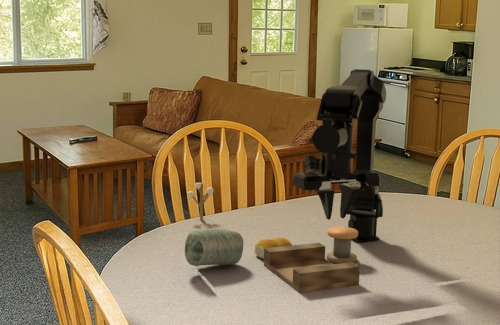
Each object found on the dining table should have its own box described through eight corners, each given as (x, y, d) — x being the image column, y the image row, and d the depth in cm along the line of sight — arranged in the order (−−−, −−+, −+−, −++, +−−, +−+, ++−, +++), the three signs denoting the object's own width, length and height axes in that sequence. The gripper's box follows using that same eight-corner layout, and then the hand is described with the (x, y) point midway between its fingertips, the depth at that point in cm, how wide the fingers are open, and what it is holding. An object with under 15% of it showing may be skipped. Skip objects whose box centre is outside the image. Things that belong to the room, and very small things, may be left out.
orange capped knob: (346, 253, 161) (348, 225, 160) (362, 262, 155) (363, 233, 154) (321, 256, 159) (322, 228, 158) (335, 265, 152) (337, 236, 151)
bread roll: (299, 255, 157) (299, 239, 157) (267, 262, 153) (267, 246, 152) (280, 245, 164) (280, 230, 164) (248, 252, 160) (248, 236, 159)
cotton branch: (185, 222, 187) (185, 180, 185) (205, 219, 191) (205, 177, 189) (198, 228, 181) (198, 184, 179) (218, 225, 185) (219, 182, 183)
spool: (188, 268, 141) (204, 223, 141) (171, 255, 149) (187, 213, 149) (241, 282, 148) (257, 240, 148) (222, 269, 156) (237, 229, 156)
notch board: (318, 259, 157) (319, 242, 156) (358, 284, 140) (359, 266, 140) (263, 265, 152) (264, 248, 151) (299, 292, 135) (299, 273, 134)
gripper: (355, 141, 154) (352, 207, 156) (282, 143, 146) (280, 213, 149) (383, 148, 144) (379, 218, 146) (306, 150, 136) (303, 225, 139)
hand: (335, 218), depth 145 cm, fingers open, 3 cm apart
